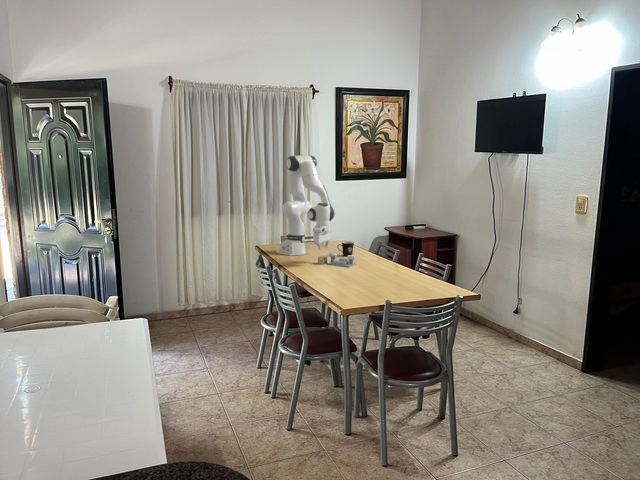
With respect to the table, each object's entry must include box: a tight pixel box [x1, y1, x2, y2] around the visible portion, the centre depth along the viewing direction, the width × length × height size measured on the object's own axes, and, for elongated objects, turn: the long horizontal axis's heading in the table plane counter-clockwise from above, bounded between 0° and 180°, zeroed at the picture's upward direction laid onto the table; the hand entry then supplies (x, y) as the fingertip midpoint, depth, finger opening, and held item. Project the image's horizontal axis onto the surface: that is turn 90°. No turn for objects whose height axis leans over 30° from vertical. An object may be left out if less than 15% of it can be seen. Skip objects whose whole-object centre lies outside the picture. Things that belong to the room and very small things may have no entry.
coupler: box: [317, 255, 328, 265], centre depth 332 cm, size 4×4×5 cm
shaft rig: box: [326, 252, 357, 268], centre depth 330 cm, size 18×11×7 cm, turn 61°
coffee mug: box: [336, 240, 355, 258], centre depth 357 cm, size 12×9×10 cm
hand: (323, 248), depth 330 cm, fingers open, 8 cm apart
